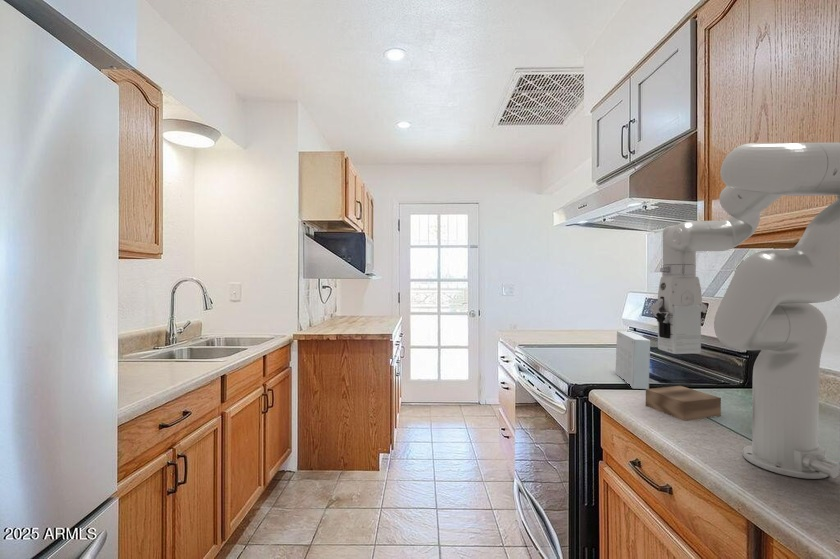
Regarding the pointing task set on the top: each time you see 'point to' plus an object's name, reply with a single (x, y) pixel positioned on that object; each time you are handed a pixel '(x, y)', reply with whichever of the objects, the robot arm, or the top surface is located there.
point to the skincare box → (633, 359)
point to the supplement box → (683, 331)
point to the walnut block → (683, 402)
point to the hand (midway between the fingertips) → (678, 336)
